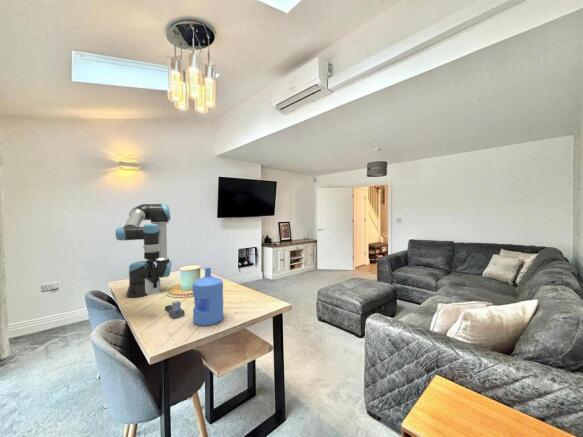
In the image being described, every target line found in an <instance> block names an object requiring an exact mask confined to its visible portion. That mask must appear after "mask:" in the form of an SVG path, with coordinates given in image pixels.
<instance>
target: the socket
mask: <svg viewBox="0 0 583 437" xmlns="http://www.w3.org/2000/svg"><path fill="white" fill-rule="evenodd" d="M155 280H156V279H155ZM151 282H152V277H151V278H145V293H147V294H148V295H147V296H150V295H153V294H152V283H151ZM157 286H158V293H159V294H160V293H161V278H159V281H158V282H157ZM158 293H155V294H158ZM155 294H154V295H155Z"/></svg>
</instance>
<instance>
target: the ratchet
mask: <svg viewBox="0 0 583 437" xmlns="http://www.w3.org/2000/svg"><path fill="white" fill-rule="evenodd" d="M181 306H182V305H181V301H180V300H175V301H172V303H171V304H169V305H165V306H164V311H166V312H167V313H168V317H170V318H171V319H172V320H176V319H179V318H183V317H185V315H186V314H185V310H184V309H183V308H181Z"/></svg>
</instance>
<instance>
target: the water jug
mask: <svg viewBox="0 0 583 437" xmlns="http://www.w3.org/2000/svg"><path fill="white" fill-rule="evenodd" d="M211 270H212V268H211V267H206V268H204V276H202V277H201V278H199V279H196V280H195V281H194V282H193V283H192V296H193V299H194V298H195V303H194V307H193V308H192V312H193V318H192V321H193V323H194V324H195V325H198V326H203V327H206V326H212V325H215V324H218V323H219V322H221V321H223V319H224V316H225V315H224V280H223V279H222V278H219V277H216V276H214V275H212V271H211ZM198 299H199V302H198Z"/></svg>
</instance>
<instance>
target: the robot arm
mask: <svg viewBox="0 0 583 437" xmlns="http://www.w3.org/2000/svg"><path fill="white" fill-rule="evenodd" d="M171 219H172V218H171V212H170V206H169V205H168V204H166V203H164V204H163V203H144V204H139V205H137V206H135V207H133V208H132V209H131V210H130V211H129V213H128V219H126V221H125V224H124V226H120V227H116V229H115V239H116V241H134V240H135V241H136V240H137V241H138V240H143V246H142V248H143V251H144V252H143V258H144V259H145V260H140V261H136V262H135V261H134V262H133V263H131V264H129V266H128V276H129V277H128V278H129V281H128V282H129V285H128V289H127V291H126V298H129V299H130V298H131V299H134V298H135V299H136V298H142V297H146V296H149V295H148V294H147V293H145V278H151V277H152V282H151V283H152V294H151V295H155V293H156V294H158V286H157V282H158V281H159V278H160V279H161V278H167V277H169V276H170V274H171V270H172V260H170V257H168V245H167V244H168V243H167V242H168V239H167V237H168V236H167V235H168V234H167V224H169V221H171ZM144 221H150V223H145V224H144V225H143V226H140V225H141V224H142V222H144ZM155 279H156V280H155Z"/></svg>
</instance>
